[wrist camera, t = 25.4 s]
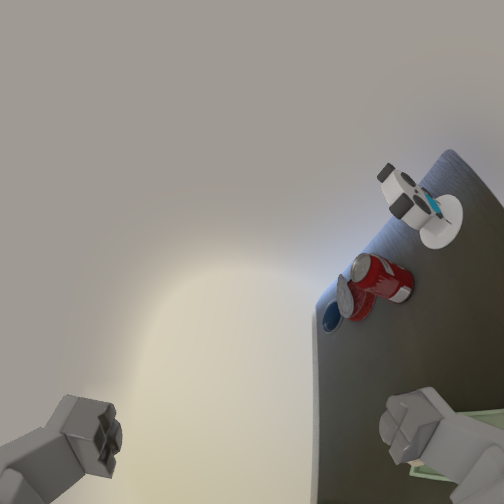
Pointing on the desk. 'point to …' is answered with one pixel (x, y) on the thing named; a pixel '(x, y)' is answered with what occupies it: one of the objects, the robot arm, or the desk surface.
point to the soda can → (382, 277)
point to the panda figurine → (421, 208)
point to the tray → (492, 417)
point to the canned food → (353, 300)
